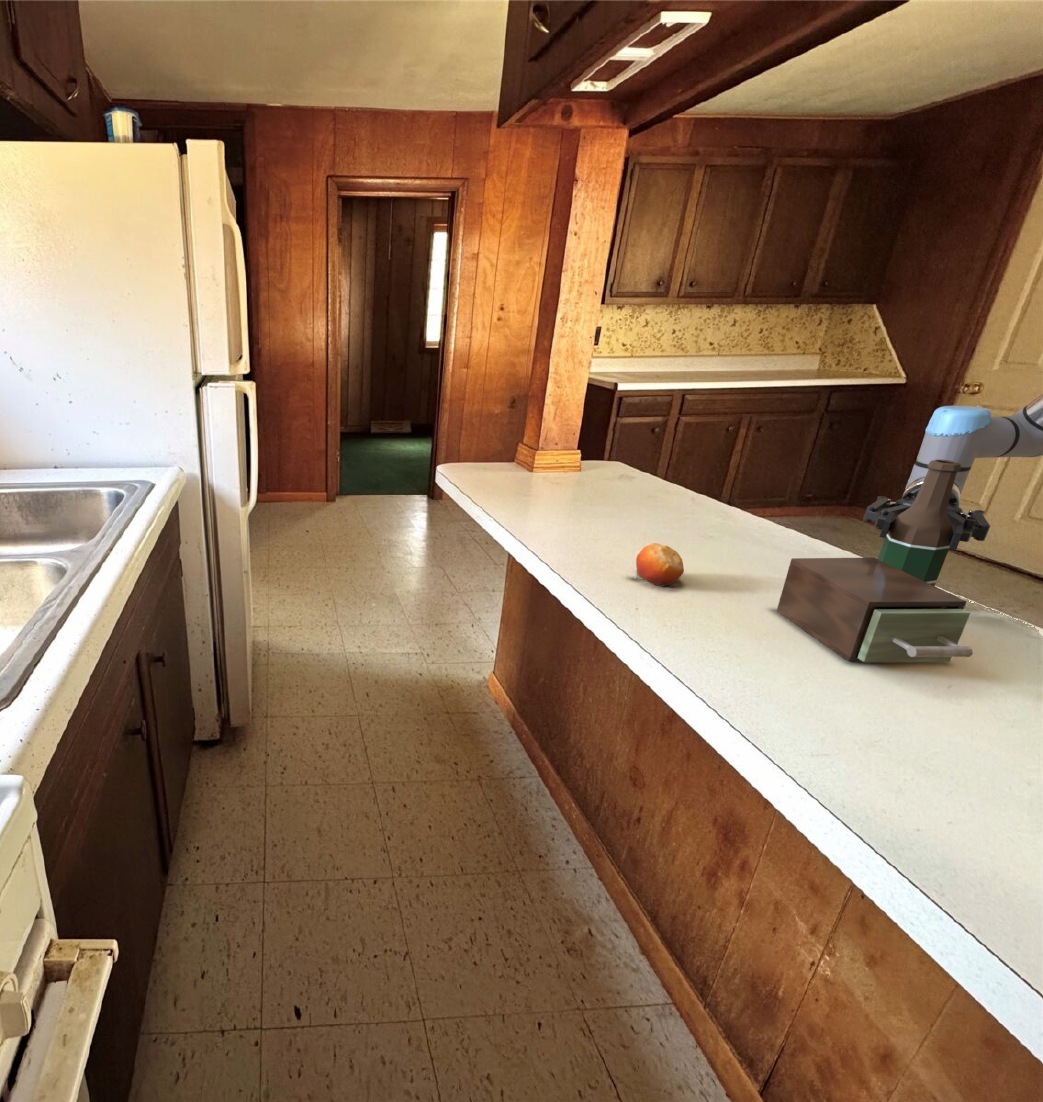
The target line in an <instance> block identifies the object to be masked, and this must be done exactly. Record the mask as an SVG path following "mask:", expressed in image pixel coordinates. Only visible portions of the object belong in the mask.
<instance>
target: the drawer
mask: <svg viewBox="0 0 1043 1102" xmlns="http://www.w3.org/2000/svg"><path fill="white" fill-rule="evenodd" d="M946 608H947V607H873V610H872V613H871V615H870V618H869V621H868V624H867V627H866V630H865V632H864V635H863V638H862V641H861V644H860V647H859V650H858V651H860V652H859V655H858V659H860V660H861V661H863V662H862V663H951V661H952V658H970V657H972V656H973V655H974V651H973V649H972V647H970V646H968V645H959V641H960V639H961V637H962V635H963V632H964V630H965V628H966V625H967V623H968V620H969V618H970V615H971V612H970V611H968V610H966V609H965V608H964V609H946Z"/></svg>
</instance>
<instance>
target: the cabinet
mask: <svg viewBox="0 0 1043 1102" xmlns="http://www.w3.org/2000/svg"><path fill="white" fill-rule="evenodd" d="M790 559H791V560H790V563H789V566H788V570H787V572H786V576H785V579H784V584H783V587H782V591H781V594H780V597H779V601H778V604H777V608H776V612H777V613H779V614H780V615H781V616H783V617H784V618H786V620H788V621H790V622H791V623H793V624H794V625H795V626H797V627H798V628H800V629H801V630H803V631H804V632H805V633H807V634H808V635H810V636H811V637H812V638H814V639H815V640H817V641H818V642H820V643H821V644H822V645H824V646H826V647H827V648H828V649H830V650H831V651H833V652H834V653H835V654H837V655H838V656H840V657H841V658H842V659H843V660H845V661H846V662H848V663H855V662H856V663H858V662H859V663H864V662H863V661H861V660H860V659H858V655H859V652H860V651H858V650H859V647H860V644H861V641H862V638H863V635H864V632H865V630H866V627H867V624H868V621H869V618H870V615H871V613H872V610H873V607H947V608H946V609H964V610H965V606H966V605H967V600H965V599H963V598H960V597H958V596H957V595H954V594H952V593H950V592H947V591H946V590H944V589H942V588H939V587H937V586H936V585H935V586H933V585H931V584H929V583H927V582H925V581H923V580H920V579H918V578H916V577H914V576H912V575H910V574H908V573H906V572H903V571H901V570H899V569H897V568H895V567H893V566H891V565H889V564H886V563H884V562H882V561H880V560H878V558H876V557H804V558H803V557H799V558H798V557H797V558H796V557H795V558H794V557H793V558H790Z"/></svg>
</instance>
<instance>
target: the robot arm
mask: <svg viewBox="0 0 1043 1102" xmlns="http://www.w3.org/2000/svg"><path fill="white" fill-rule="evenodd" d="M1041 456H1043V393H1041V395H1039V396H1037V397H1036V398H1035V399H1033V400H1032V401H1031V402H1029V403H1028V404H1027V405H1025V406H1024V407H1022V408H1020V409H1019V410H1018V411H1017V412H1015V413H1014V414H1012V415H1006V416H1005V415H1003V416H992V411H991V410H990V409H988V408H985V407H980V406H970V405H944V406H940V407H938V408H936V409H935V410H934V412H933V413H932V416H931V417H930V420H929V421H928V424H927V426H926V427H925V433H924V436H923V439H922V443H921V445H920V448H919V450H918V454H917V457H916V460H915V462H914V464H913V466H912V470H911V473H910V476H909V478H908V480H907V482H906V485H905V490H904V491H903V494H902V496H901V498H900V499H897V500H896V501H892V499H891V498H888V497H887V496H884V495H879V496H877V498H876V500H875V501H874V502H873V503H871V504H870V505H868V506H867V507H866V509H865V512H864V516H863V518H862V521H863V522H864V523H872V522H875V523H874V529H875V530H881V531H880V534H879V538H882V539H885V538H886V536H887V533H888V531H889V528H890V526H891V523H892V521H893V520H894V519H895V518H896V517H897V516H898V515H899V514H901V513H902V512H904V511H905V510H907V509H908V508H910V507H911V505H912V504H913V502H914V500H915V499H916V497H917V494H918V492H919V490H920V488H921V485H922V483H923V481H924V479H925V477H926V474H927V472H928V470H929V467H928V466H927V465H928V464H929V463H930V462H931V461H933V460H950V461H955V462H958V463H959V464H961V470H960V471H958V472H957V474H956V477H955V481H954V484H953V488H952V491H951V495H950V498H949V502H948V507H947V515H948V517H949V519H950V521H951V523H952V528H953V536H952V539H951V541H950V547H949V550H951V551H957V549H958V547H959V543H960V542H964V543H969V542H970V540H971V538H973V540H975V541H978V542H984V541H985V540H986V538H987V535H988V533H989V531H990V528H991V524H990V523H989V522H988V520H987V519H986V517H985V514H986V511H985V510H982V509H975V510H968V512H965V511H963V509H962V508H961V507H960V503H961V495H962V492H963V490H964V487H965V484H966V481H967V479H968V477H969V474H970V472H971V469H972V467H973V465H974V462H975V459H989V458H991V459H992V458H1037V457H1041Z"/></svg>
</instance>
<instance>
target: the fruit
mask: <svg viewBox="0 0 1043 1102" xmlns="http://www.w3.org/2000/svg"><path fill="white" fill-rule="evenodd" d="M635 564H636V565H635V567H636V576H635V577H633V580H636V579H642V580H644V581H646V582H647V583H650V584H653V585H655V586H659V587H664V586H669V585H670V584H673V583H675V581H677V580H679V579H680V578H681V577H682V575H684V573H685V568H684V561H683V559H682V556H681V555H680V553H679V552H678V551H676V550H675V549H673V548H672V547H670V546H669V545H664V544H660V543H657V542H654V543H651V544H648V545H646V546H644V547H643V548H642V549H641V550H640V552H639V553H638V554H637V556H636V559H635Z"/></svg>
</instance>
